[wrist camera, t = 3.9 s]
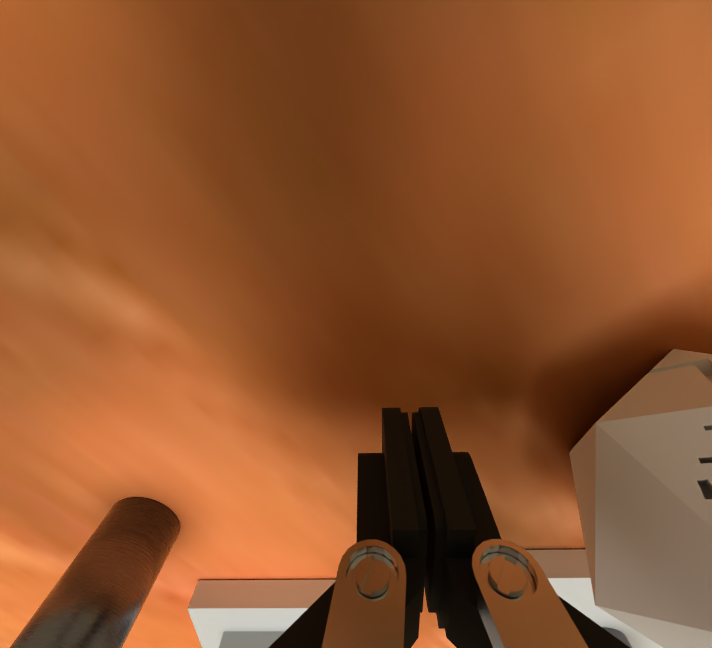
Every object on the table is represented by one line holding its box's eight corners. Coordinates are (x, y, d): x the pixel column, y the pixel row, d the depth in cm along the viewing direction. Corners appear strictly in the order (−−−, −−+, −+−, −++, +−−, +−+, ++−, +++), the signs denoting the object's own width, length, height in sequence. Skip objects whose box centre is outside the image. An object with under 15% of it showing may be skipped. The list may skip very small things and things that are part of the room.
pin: (100, 497, 15) (-92, 741, 9) (170, 496, 15) (28, 742, 9) (122, 545, 16) (-33, 790, 10) (187, 544, 16) (73, 791, 10)
